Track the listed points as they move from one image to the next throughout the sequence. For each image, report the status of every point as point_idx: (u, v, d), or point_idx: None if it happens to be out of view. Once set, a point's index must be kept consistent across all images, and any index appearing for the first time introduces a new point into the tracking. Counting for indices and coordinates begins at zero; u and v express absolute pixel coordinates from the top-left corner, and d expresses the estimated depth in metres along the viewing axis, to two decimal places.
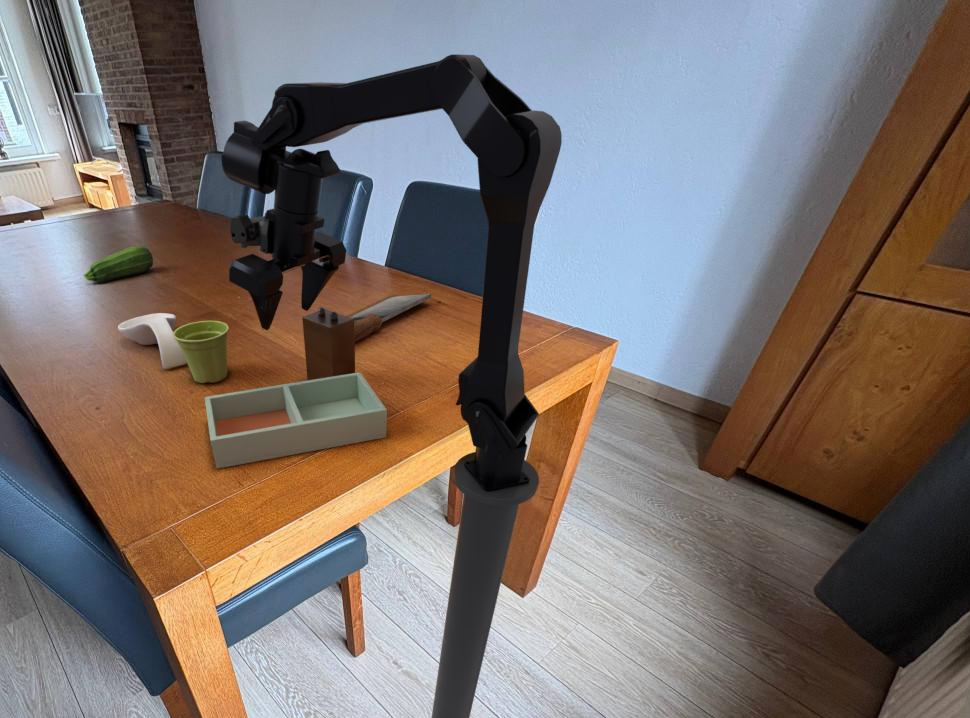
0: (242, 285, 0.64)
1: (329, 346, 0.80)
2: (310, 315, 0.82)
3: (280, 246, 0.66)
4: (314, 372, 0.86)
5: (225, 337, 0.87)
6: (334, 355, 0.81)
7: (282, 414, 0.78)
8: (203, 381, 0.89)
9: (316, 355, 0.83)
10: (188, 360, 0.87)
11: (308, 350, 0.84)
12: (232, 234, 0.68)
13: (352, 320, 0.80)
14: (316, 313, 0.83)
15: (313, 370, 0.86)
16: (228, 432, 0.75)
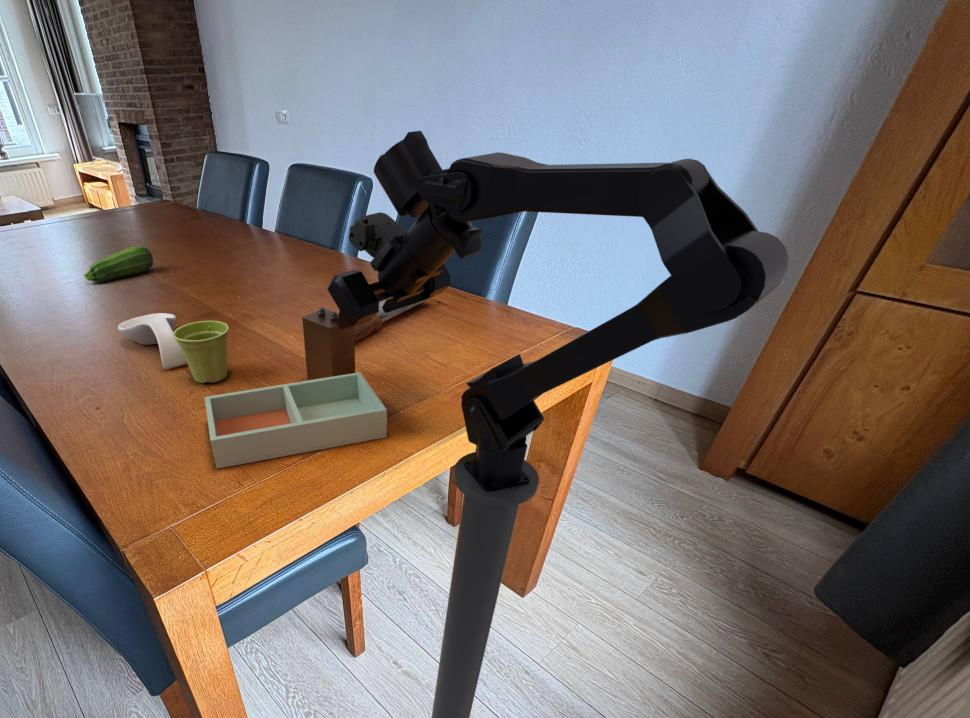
0: (337, 303, 0.63)
1: (329, 346, 0.80)
2: (310, 315, 0.82)
3: (390, 277, 0.64)
4: (314, 372, 0.86)
5: (225, 337, 0.87)
6: (334, 355, 0.81)
7: (282, 414, 0.78)
8: (203, 381, 0.89)
9: (316, 355, 0.83)
10: (188, 360, 0.87)
11: (308, 350, 0.84)
12: (351, 233, 0.64)
13: None
14: (316, 313, 0.83)
15: (313, 370, 0.86)
16: (228, 432, 0.75)
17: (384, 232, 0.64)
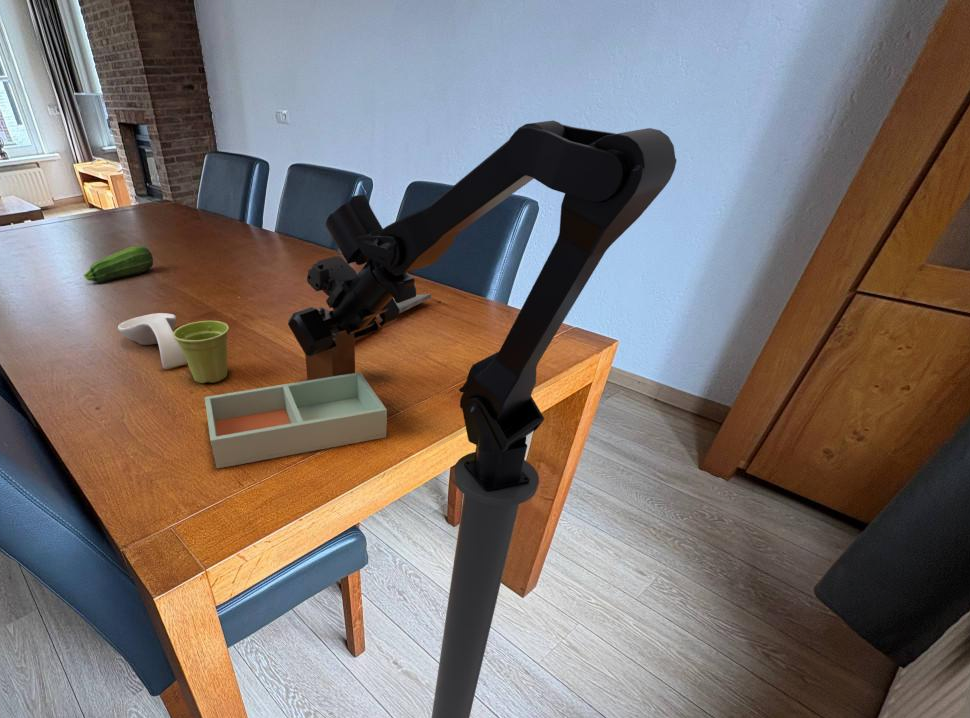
0: (296, 336, 0.73)
1: None
2: None
3: (342, 314, 0.74)
4: (314, 372, 0.86)
5: (225, 337, 0.87)
6: (334, 355, 0.81)
7: (282, 414, 0.78)
8: (203, 381, 0.89)
9: (316, 355, 0.83)
10: (188, 360, 0.87)
11: None
12: (308, 275, 0.74)
13: None
14: None
15: (313, 370, 0.86)
16: (228, 432, 0.75)
17: (337, 275, 0.73)
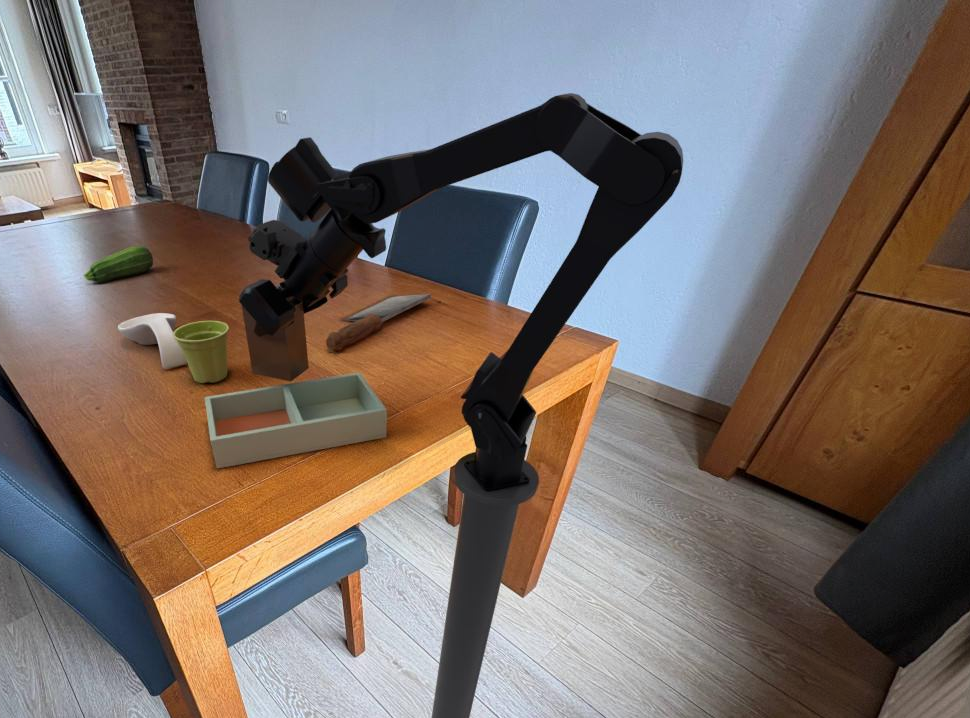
0: (252, 314, 0.62)
1: None
2: None
3: (299, 283, 0.64)
4: (262, 360, 0.74)
5: (225, 337, 0.87)
6: (287, 335, 0.70)
7: (282, 414, 0.78)
8: (203, 381, 0.89)
9: (264, 339, 0.72)
10: (188, 360, 0.87)
11: (251, 336, 0.73)
12: (251, 242, 0.62)
13: None
14: None
15: (259, 359, 0.74)
16: (228, 432, 0.75)
17: (284, 239, 0.63)
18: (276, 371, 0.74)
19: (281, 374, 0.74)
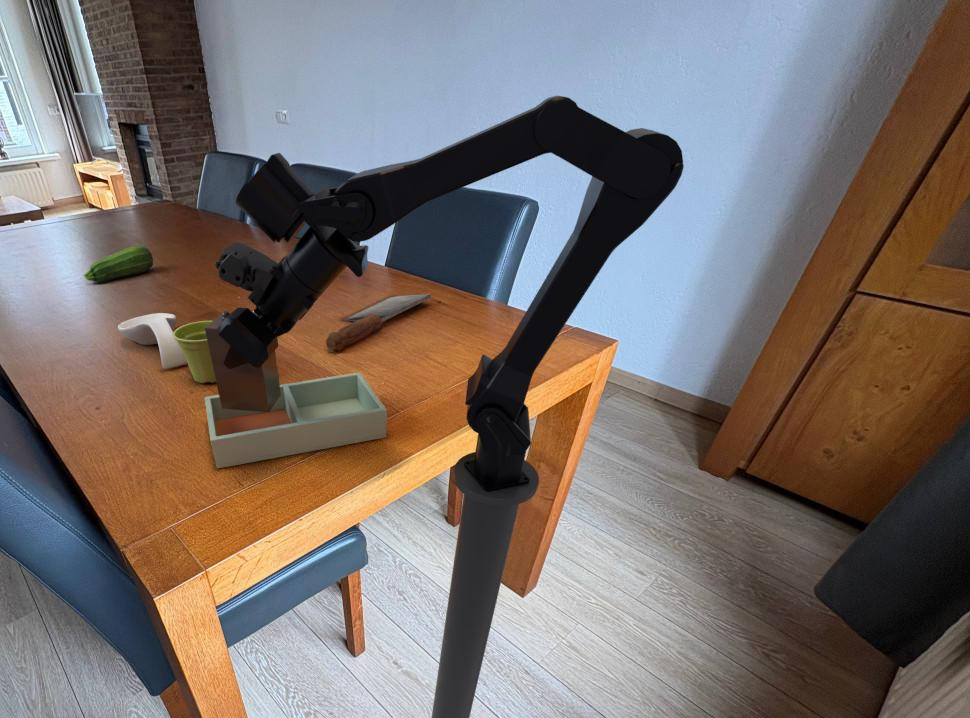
0: (236, 347, 0.56)
1: None
2: (213, 324, 0.64)
3: (277, 308, 0.59)
4: (233, 393, 0.68)
5: None
6: (263, 364, 0.65)
7: (282, 414, 0.78)
8: (203, 381, 0.89)
9: (235, 370, 0.66)
10: (188, 360, 0.87)
11: (220, 368, 0.66)
12: (221, 269, 0.57)
13: None
14: (217, 320, 0.65)
15: (230, 392, 0.68)
16: (228, 432, 0.75)
17: (255, 262, 0.58)
18: (251, 403, 0.69)
19: (256, 405, 0.69)
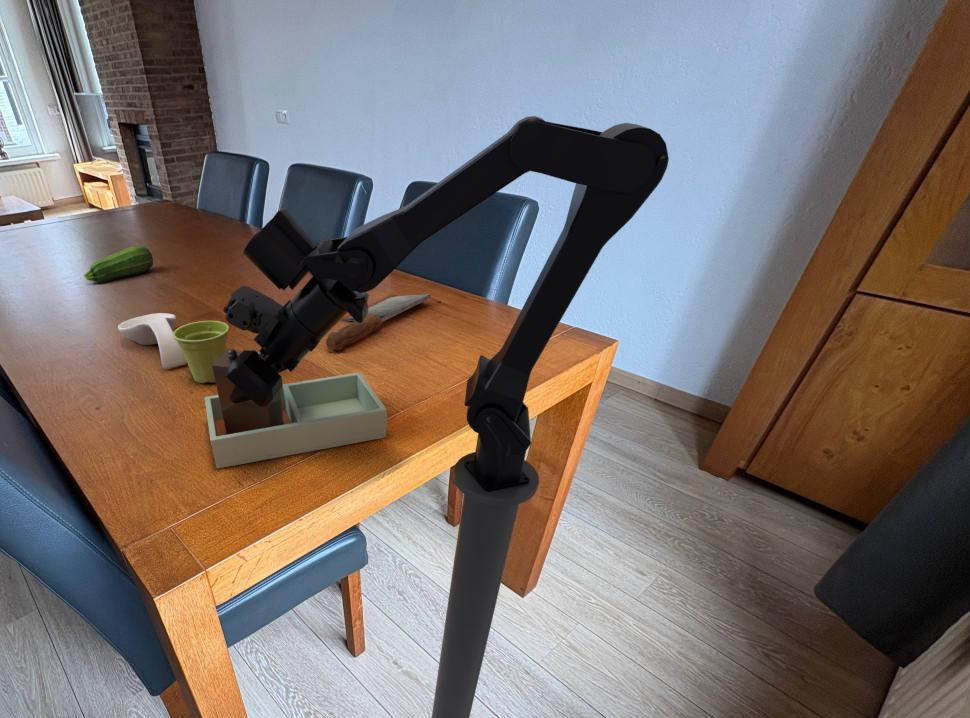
0: (243, 389, 0.59)
1: None
2: (220, 361, 0.67)
3: (281, 350, 0.62)
4: (239, 425, 0.71)
5: (225, 337, 0.87)
6: None
7: None
8: (203, 381, 0.89)
9: (241, 405, 0.69)
10: (188, 360, 0.87)
11: (226, 402, 0.70)
12: (229, 314, 0.60)
13: None
14: (224, 357, 0.68)
15: (236, 424, 0.71)
16: None
17: (261, 307, 0.61)
18: None
19: None
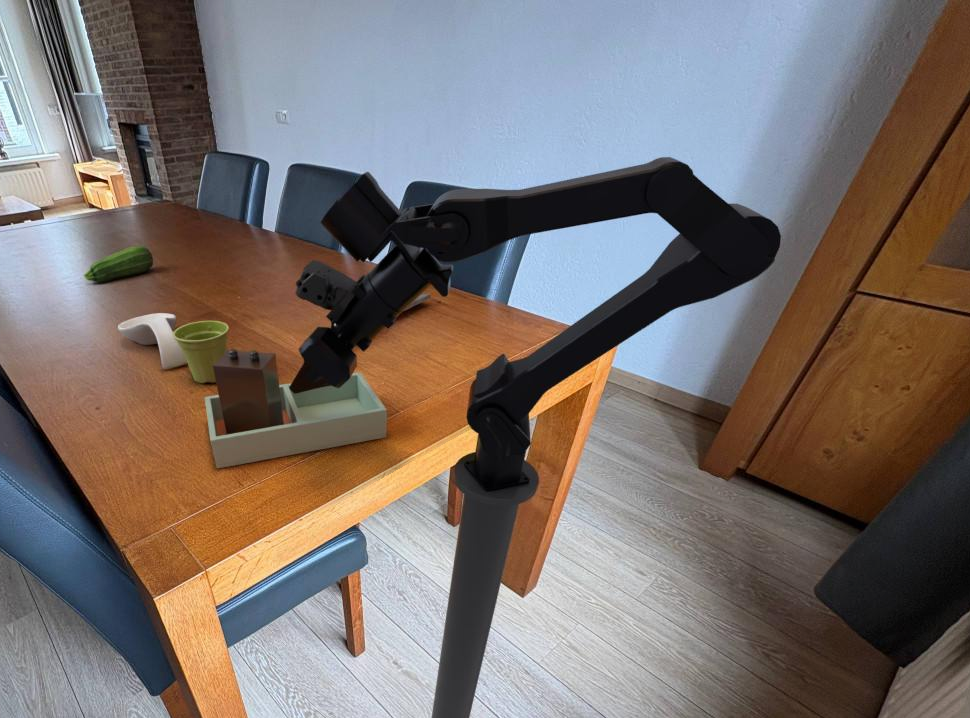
0: (318, 367, 0.55)
1: (261, 390, 0.67)
2: (220, 361, 0.67)
3: (356, 327, 0.58)
4: (239, 425, 0.71)
5: (225, 337, 0.87)
6: (268, 399, 0.68)
7: None
8: (203, 381, 0.89)
9: (241, 405, 0.69)
10: (188, 360, 0.87)
11: (226, 402, 0.70)
12: (303, 288, 0.56)
13: (274, 355, 0.68)
14: (224, 357, 0.68)
15: (236, 424, 0.71)
16: None
17: (335, 281, 0.57)
18: None
19: None
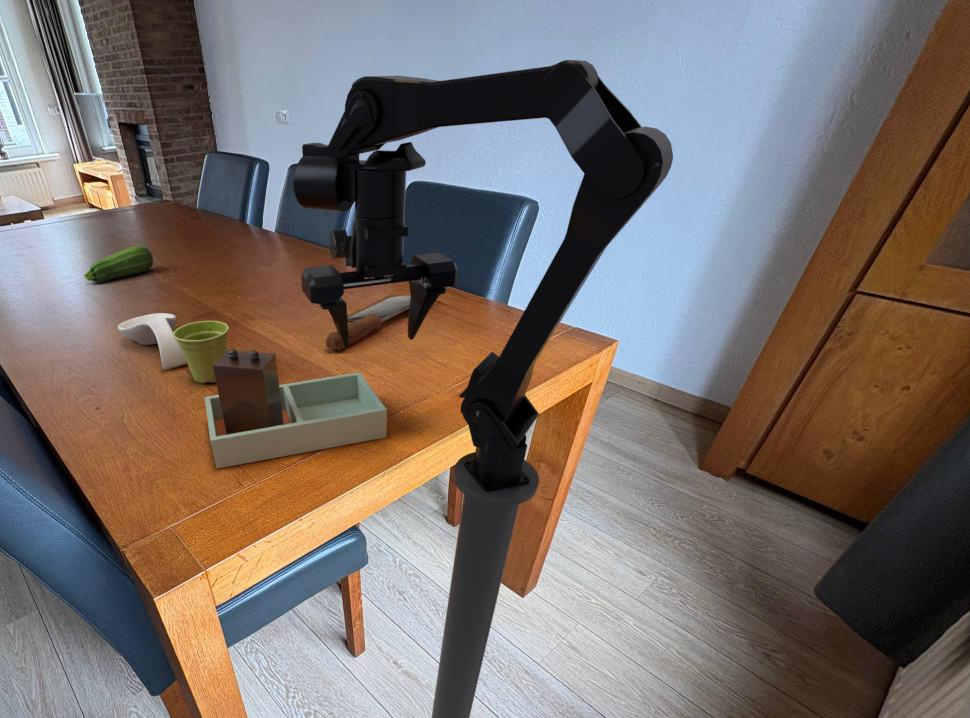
0: (305, 293, 0.62)
1: (261, 390, 0.67)
2: (220, 361, 0.67)
3: (357, 257, 0.61)
4: (239, 425, 0.71)
5: (225, 337, 0.87)
6: (268, 399, 0.68)
7: None
8: (203, 381, 0.89)
9: (241, 405, 0.69)
10: (188, 360, 0.87)
11: (226, 402, 0.70)
12: (331, 250, 0.66)
13: (274, 355, 0.68)
14: (224, 357, 0.68)
15: (236, 424, 0.71)
16: None
17: None
18: None
19: None
